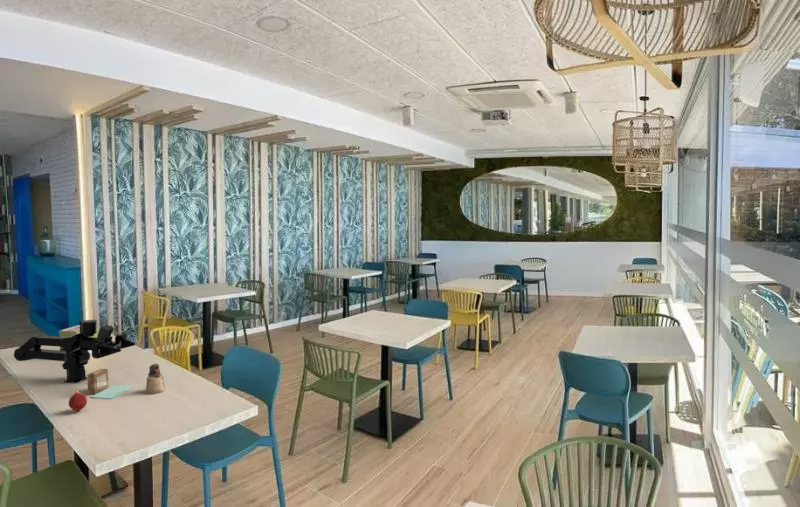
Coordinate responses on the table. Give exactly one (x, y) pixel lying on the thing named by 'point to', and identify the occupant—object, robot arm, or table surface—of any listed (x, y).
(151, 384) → the figurine
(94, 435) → the table surface
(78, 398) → the onion
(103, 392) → the mat
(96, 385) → the menu stand
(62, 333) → the tea box
